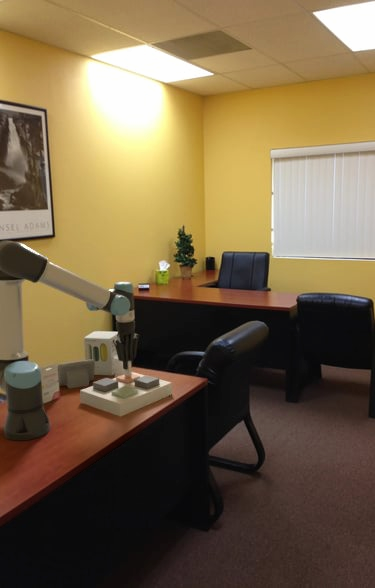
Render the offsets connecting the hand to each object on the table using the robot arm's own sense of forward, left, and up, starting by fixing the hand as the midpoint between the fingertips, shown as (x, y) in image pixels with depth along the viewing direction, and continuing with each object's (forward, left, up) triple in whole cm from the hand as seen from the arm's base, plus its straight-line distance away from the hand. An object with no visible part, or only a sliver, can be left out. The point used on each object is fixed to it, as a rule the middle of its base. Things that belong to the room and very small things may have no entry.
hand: (128, 376), depth 213 cm
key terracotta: (0, 0, -5) cm, 5 cm away
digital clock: (-8, +25, -7) cm, 27 cm away
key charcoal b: (0, -11, -4) cm, 12 cm away
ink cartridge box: (-26, +20, -7) cm, 33 cm away
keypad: (-6, -5, -7) cm, 10 cm away
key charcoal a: (-12, 0, -4) cm, 13 cm away
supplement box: (+12, +30, -7) cm, 33 cm away
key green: (-12, -11, -5) cm, 17 cm away
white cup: (+10, +15, -7) cm, 19 cm away
